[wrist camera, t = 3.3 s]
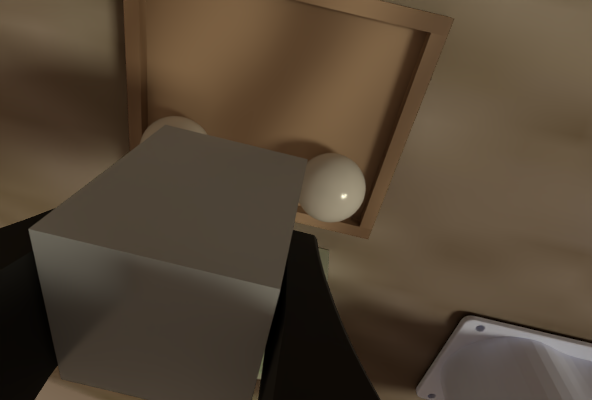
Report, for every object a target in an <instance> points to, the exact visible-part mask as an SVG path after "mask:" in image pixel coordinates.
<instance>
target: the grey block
mask: <svg viewBox="0 0 592 400" xmlns="http://www.w3.org/2000/svg"><path fill="white" fill-rule="evenodd" d="M307 161H308V159H305V158H301V157H297V156H292V155H288V154H284V153H280V152H276V151H272V150H268V149H264V148H259V147H255V146H251V145H247V144H243V143H239V142H235V141H231V140H227V139H222V138H218V137H214V136H210V135H206V134H202V133H198V132H194V131H190V130H185V129H181V128H177V127H173V126H169V125H164V126H163V127H162V128H160V129H159V130H158V131H156V132H155V133H154V134H152V135H151V136H150V137H148V138H147V139H146V140H145V141H143V142H142V143H141V144H139V145H138V146H137V147H135V148H134V149H133V150H131V151H130V152H129V153H127V154H126V155H125V156H124V157H122V158H121V159H120V160H118V161H117V162H116V163H114V164H113V165H112V166H110V167H109V168H108V169H106V170H105V171H104V172H103V173H101V174H100V175H99V176H97V177H96V178H95V179H93V180H92V181H91V182H89V183H88V184H87V185H85V186H84V187H83V188H82V189H80V190H79V191H78V192H76V193H75V194H74V195H72V196H71V197H70V198H68V199H67V200H66V201H64V202H63V203H62V204H61V205H59V206H58V207H57V208H55V209H54V210H53V211H51V212H50V213H49V214H47V215H46V216H45V217H43V218H42V219H41V220H40V221H38V222H37V223H36V224H34V225H33V226H32V227H30V228H29V229H28V230H29V234H30V239H31V243H32V248H33V252H34V257H35V262H36V266H37V271H38V275H39V280H40V285H41V289H42V294H43V298H44V303H45V307H46V312H47V317H48V321H49V326H50V330H51V335H52V340H53V344H54V349H55V353H56V358H57V362H58V367H59V372H60V376H61V379H63V380H67V381H71V382H75V383H80V384H84V385H88V386H92V387H96V388H101V389H105V390H109V391H113V392H118V393H122V394H126V395H130V396H135V397H139V398H143V399H147V400H252V396H253V393H254V389H255V385H256V381H257V377H258V373H259V370H260V366H261V362H262V358H263V354H264V350H265V346H266V343H267V339H268V335H269V331H270V327H271V323H272V320H273V316H274V312H275V308H276V304H277V300H278V297H279V293H280V289H281V284H282V279H283V275H284V270H285V265H286V260H287V256H288V251H289V246H290V241H291V237H292V232H293V227H294V223H295V218H296V213H297V208H298V204H299V199H300V194H301V189H302V185H303V180H304V175H305V171H306V166H307Z"/></svg>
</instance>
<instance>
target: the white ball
mask: <svg viewBox="0 0 592 400" xmlns="http://www.w3.org/2000/svg"><path fill="white" fill-rule="evenodd" d="M365 191H366V183H365V179H364V175H363V173H362V171H361V169H360V168H359V166H358V165H357V164H356V163H355V162H354V161H353V160H351V159H350V158H348V157H346V156H344V155H341V154H337V153H324V154H320V155H318V156H316V157H314V158H312V159H310V160H309V161H308V162H307V166H306V171H305V175H304V180H303V185H302V189H301V194H300V199H299V203H300V205H301V207H302V208H303V210H304V211H305V212H306V213H307V214H308V215H310V216H311V217H313V218H314V219H316V220H319V221H322V222H339V221H342V220H345V219H347V218H349V217H350V216H352V215H353V214H354V213H355V212H356V211H357V210H358V209H359V207H360V206H361V204H362V202H363V200H364V197H365Z"/></svg>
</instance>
